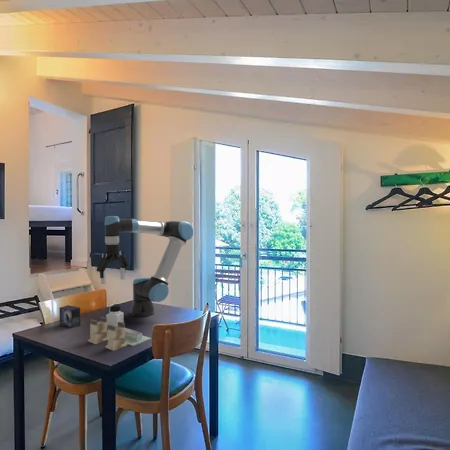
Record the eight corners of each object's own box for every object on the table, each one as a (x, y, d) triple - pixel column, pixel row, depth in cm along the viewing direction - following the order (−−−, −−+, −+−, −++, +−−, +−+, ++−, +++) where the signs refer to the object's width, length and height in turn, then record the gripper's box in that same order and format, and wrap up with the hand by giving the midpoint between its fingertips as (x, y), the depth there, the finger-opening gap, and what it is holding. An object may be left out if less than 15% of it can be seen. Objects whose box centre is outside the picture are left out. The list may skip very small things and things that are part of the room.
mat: (118, 329, 195) (118, 328, 195) (151, 339, 180) (151, 338, 180) (99, 335, 186) (99, 334, 185) (132, 346, 171) (132, 345, 171)
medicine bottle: (123, 324, 204) (123, 303, 204) (116, 328, 197) (116, 306, 197) (113, 323, 206) (113, 302, 206) (105, 326, 199) (105, 305, 199)
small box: (58, 325, 201) (58, 307, 201) (68, 322, 207) (68, 304, 207) (71, 328, 196) (71, 309, 196) (80, 325, 202) (80, 307, 202)
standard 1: (101, 337, 183) (101, 316, 183) (109, 339, 180) (109, 318, 179) (88, 341, 176) (88, 319, 176) (95, 344, 173) (95, 322, 173)
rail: (108, 332, 188) (108, 326, 187) (114, 331, 190) (114, 324, 190) (136, 341, 175) (136, 334, 175) (142, 339, 178) (142, 332, 178)
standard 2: (119, 342, 175) (119, 321, 175) (127, 345, 172) (127, 323, 171) (105, 347, 168) (105, 325, 168) (113, 350, 165) (113, 327, 165)
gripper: (98, 246, 183) (99, 286, 184) (133, 242, 204) (134, 278, 205) (88, 245, 187) (90, 285, 188) (124, 241, 208) (125, 277, 209)
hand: (113, 281), depth 197 cm, fingers open, 13 cm apart
